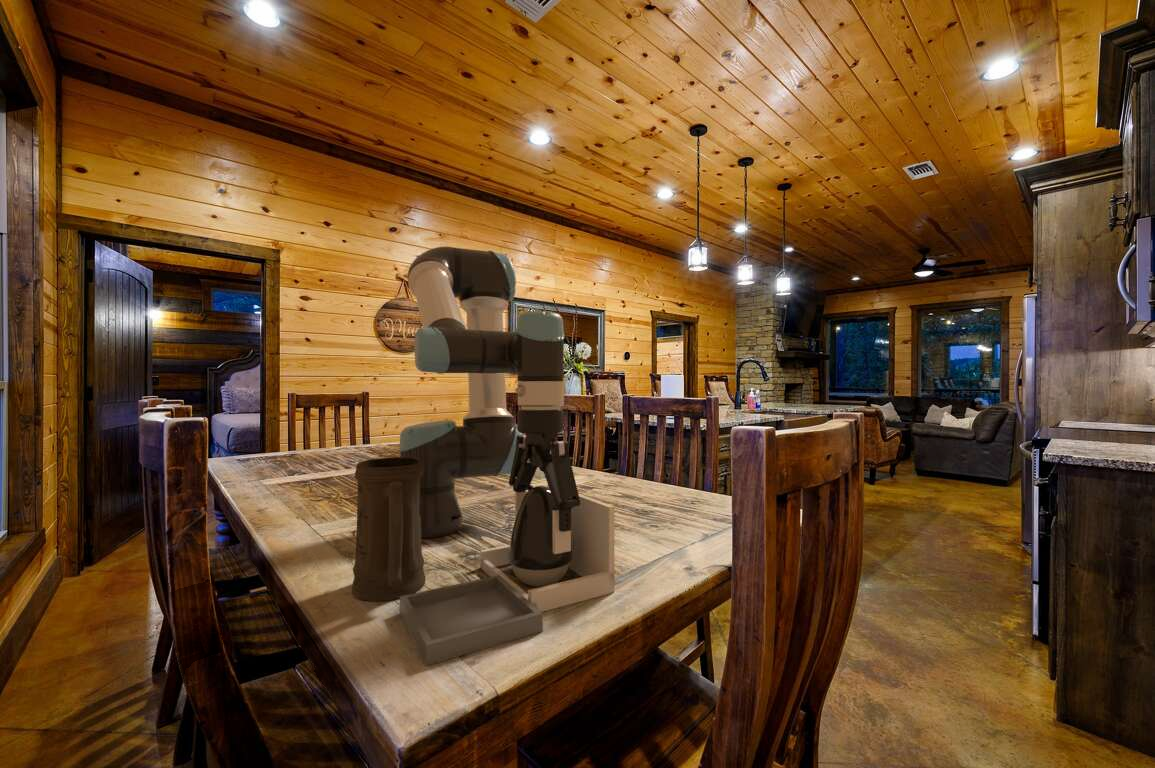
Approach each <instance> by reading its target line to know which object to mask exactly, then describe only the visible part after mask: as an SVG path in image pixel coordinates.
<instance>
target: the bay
mask: <svg viewBox="0 0 1155 768" xmlns="http://www.w3.org/2000/svg"><path fill="white" fill-rule="evenodd" d="M546 487H548V488H549V486H548V483H547V484H546ZM578 494H579V498H580V505H579V506H575V507H573V508H572V509H571V545H572V560H571V561H570V564H569V568H568V569H570V570H572V571H573V572H575V573H576V574H577V575H579V576H580V577H577V578H574V579H573V578H572V579H569V580H568V579H567V580H565V581H561V582H556V583H554V584H552V585H548V586H542V587H536V588H532V589H528V590H527V592H526V591H524V590H523V589H522V588H521V587H520V586H519V585H518V584H516V582H514V581H513V580H512V579H510V578H509V577H508V575H506V574H505V573H503V572H502V571H501V570H500V569H499V568H498V567H501V566H507V565H511V563H510V561H509V548H510V544H509V545H507V544H506V545H502V546H497V547H491V548H486V549H480V554H479V555H480V557H479V559H480V562H479V563H480V564H479V565H480V566H479V567H480V569H481V570H482V571H483V572H484V573H485V574H487V576H488V577H492V576H497V575H500V576H501V577H502V578H503V579H504V580H505V581H506V582H508V583H509V584H510V585H511V586H512V587H513V588H514V589H516V590H517V591H518V592H519V593H520V594H521V595H522V596H524V597H525V598H526V599H527V600H528V601H529V602H530V603H531V604H533V605H534V606H535V607H536V608H537V609H538V610H539V611H541V612H542V613H543V612H546V611H550V610H554V609H558V608H561V607H565V606H569V605H572V604H576V603H577V604H578V603H581V602H584V601H587V600H590V599H591V600H592V599H594V598H597V597H601V596H605V595H609V594H614V593H615V505H611V504H609V503H605V502H603V501H600V500H598V499H594V498H592V497H590V496H586V495H583V494H581V493H579V492H578Z"/></svg>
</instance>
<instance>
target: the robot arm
mask: <svg viewBox="0 0 1155 768" xmlns="http://www.w3.org/2000/svg"><path fill="white" fill-rule="evenodd" d="M516 279H517V278H516V272H515V268H514V265H513V262H512V260H511V258H510V257H509V256H508V255H506V254H505V253H501V252H496V251H492V250H480V249H471V248H462V247H461V248H460V247H454V246H446V245H445V246H438V247H434V248H431V249H428V250H426V251H424V252H422V253H420V254H419V255H418V256H417V257H416V258H415V259H414V260H413V261H412V262H411V264H410V266H409V268H408V272H407V286H408V288H409V291H410V292H411V293H412V295H413V296H414V298H415V299H416V303H417V307H418V308H417V309H418V312H419V317H420V322H421V326H422V327H421V328H418V329H417V330H416V332H415V336H414V364H415V367H416V369H417V370H418V371H419V372H423V373H434V374H435V373H436V374H437V375H438V374H439V375H442V374H468V376H467V377H468V381H467V382H468V406H469V407H468V409H469V411H468V412H467V413H466V415H464V417H463V418H462V425H459V426H456V422H455V421H454V420H453V419H451V420H447V419H446V420H436V421H428V422H424V423H418V424H413V425H410V426H406V427H405V428H403V429H402V430H401V432H400V434H399V447H398V452H399V457H406V458H416V459H419V460H421V461H422V465H423V470H424V473H423V475H422V476H421V478H420V496H419V497H420V501H419V516H420V518H421V539H428V538H436V537H437V538H438V537H442V536H443V537H444V536H446V535H450V534H453V533H455V532H458V531H459V530H461V529H462V528H463V525H464V524H463V513H462V509H461V507H460V503H459V501H458V497H457V496H456V495H457V494H456V491H455V489H456V488H455V487H456V486H455V480H456V479H467V478H480V477H481V478H482V477H498V476H502V475H504V476H505V475H509V478H508V485H509V487H512V490H513V492H514V519H515V518H516V515H517V512H518V509H519V506H520V504H521V502H522V500H523V498H524V496H525V495H526V493H527V492H528V490H527V487H528V486H529V485H531V484H532V481H533V478H534V476H535V475H536V472H537V470H538V468H539V471H540V472H542V473H543V474H544V477H545V480H546V483H547V484H548V486H549V489H550V492H551V494H552V497H553V500H554V503H555V505H554V506H553V507H552V510H553V553H554V554H558V553H563V552H568V551H571V509H572V508H573V507H575V506H579V505H580V498H579V494H580V493H579V491H578V487H577V482H576V479H575V474H574V471H573V470H574V469H573V467H572V461H571V457H570V448H569V447H570V446H569V442H568V441H567V440H561V441H558V440H557V439H558V438H557V435H558V434H560V433H562V432H564V430H565V412H564V411H563V409H561V407H563V406H564V405H565V385H564V384H565V382H564V374H565V373H564V368H565V366H564V363H565V361H564V359H565V358H564V357H565V356H564V355H565V353H564V349H565V348H564V347H565V343H564V342H565V337H566V336H565V333H564V320H563V317H562V315H560V314H559V313H556V312H554V311H553V312H552V311H544V310H543V311H541V310H540V311H537V310H536V311H526V312H523V313H520V314H519V315H518V317H517V320H516V321H517V322H516V329H515V331H504V317H503V315H504V314H503V313H504V311H506V310H507V308H508V307H509V302H511V301H513V300H514V298H515V294H516V285H517V281H516ZM457 299H459V305H458V302H457ZM459 307H460V308H461V309H462V310H463V311H464V313H466V323H465V322H464V319H463V316H462V313H461V310H460V308H459ZM465 324H466V325H465ZM508 374H509V375H512V376H517V387H516V388H515V393H516V394H517V406H519V407H521V409H519V410H518V411H517V414H516V416H517V417H516V418H517V423H514V416H513V415H512V413H510V412H509V411H508V410H507V392H506V389H507V388H506V375H508ZM578 493H579V494H578Z"/></svg>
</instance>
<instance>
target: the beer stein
mask: <svg viewBox="0 0 1155 768" xmlns="http://www.w3.org/2000/svg"><path fill="white" fill-rule="evenodd" d="M423 473H424V470H423V465H422V461H421V460H419V459H416V458H406V457H400V456H396V457H395V456H394V457H381V458H380V457H379V458H372V459H367V460H362V461H360V462H357V464H356V467H355V471H354V478H355V479H356V481H357V501H356V502H357V503H356V504H357V505H356V536H355V554H354V555H355V556H354V557H355V558H354V564H353V568H352V572H353V573H352V574H353V581H352V584H351V585H352V586H351V594H352V595H353V596H354V597H355V598H357V599H359V600H363V601H368V602H383V601H393V600H397V599H400V596H405V595H409V594H414V593H417V592H418V591H419V590H421V589H422V588H423V586H425V584H426V581H427V580H426V574H425V570H424V565H425V559H424V556H423V550H422V549H423V548H422V538H421V518H420V516H419V501H420V497H419V496H420V478H421V476H422V475H423Z"/></svg>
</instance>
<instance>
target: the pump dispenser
mask: <svg viewBox="0 0 1155 768" xmlns="http://www.w3.org/2000/svg"><path fill="white" fill-rule="evenodd" d="M526 491H528V492H527V493H526V495H525V496H524V498H523V500H522V502H521V504H520V506H519V509H518V512H517V515H516V518H515V517H514V522H513V527H512V530H511V531H512V532H511V534H510V535H511V537H510V541H509V545H510V548H509V561H510V563H511V564H510V565H511V569H512V571H513V573H514V575H515V577H516V578H517V579H518V580H519V581H520V582H521V583H523V584H525V585H528V586H532V587H536V588H539V587H544V586H548V585H552V584H556V583H559V581H561V580H562V579H563V578H564V576H565V575H566V573H567V572H568V570H569V569H570V568H569V564H570V561H571V560H572V545H571V551H568V552H563V553H558V554H554V553H553V510H552V507H553V506H554V505H555V503H554V500H553V497H552V494H551V492H550V489H549V488H548V487H547V485H537V486H533V485H531V484H530V485H529V486H528V487H527V490H526Z"/></svg>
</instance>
